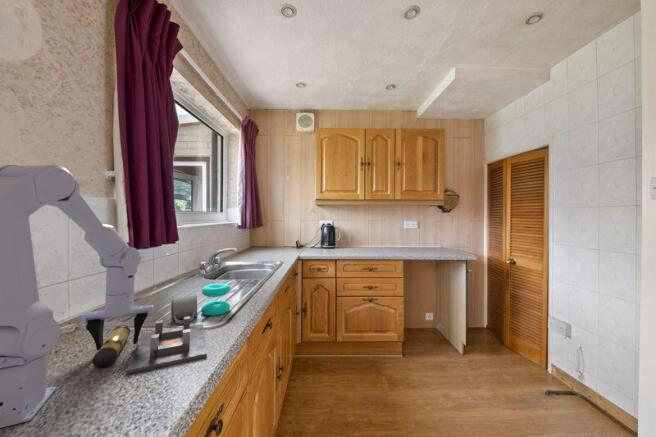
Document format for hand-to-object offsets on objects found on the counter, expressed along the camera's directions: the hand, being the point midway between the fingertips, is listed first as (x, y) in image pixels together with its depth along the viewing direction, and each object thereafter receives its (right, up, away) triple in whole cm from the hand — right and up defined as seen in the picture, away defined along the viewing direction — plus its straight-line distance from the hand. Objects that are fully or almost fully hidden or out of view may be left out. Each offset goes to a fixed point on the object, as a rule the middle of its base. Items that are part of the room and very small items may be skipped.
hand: (118, 345), depth 65 cm
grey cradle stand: (+12, -2, +3) cm, 12 cm away
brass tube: (0, -1, 0) cm, 1 cm away
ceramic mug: (+4, -3, +23) cm, 24 cm away
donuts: (+12, -3, +30) cm, 33 cm away
